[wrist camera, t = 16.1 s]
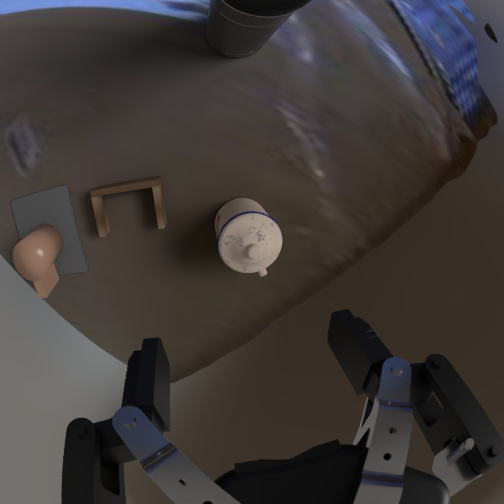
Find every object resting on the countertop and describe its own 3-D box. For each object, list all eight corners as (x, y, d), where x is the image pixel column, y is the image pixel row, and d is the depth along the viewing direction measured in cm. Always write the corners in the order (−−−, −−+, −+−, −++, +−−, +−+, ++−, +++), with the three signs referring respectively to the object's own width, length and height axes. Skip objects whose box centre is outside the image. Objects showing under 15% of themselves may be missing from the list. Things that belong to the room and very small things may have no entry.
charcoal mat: (11, 200, 33) (10, 201, 33) (67, 184, 35) (66, 184, 35) (34, 276, 40) (33, 277, 40) (88, 270, 43) (87, 271, 42)
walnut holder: (96, 187, 37) (90, 191, 34) (160, 176, 39) (158, 179, 36) (105, 230, 40) (99, 237, 38) (166, 221, 42) (164, 228, 39)
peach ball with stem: (29, 226, 36) (7, 244, 29) (57, 220, 37) (37, 239, 30) (45, 276, 41) (28, 300, 33) (72, 274, 42) (57, 298, 35)
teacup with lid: (204, 209, 43) (207, 237, 32) (256, 187, 43) (276, 207, 32) (232, 269, 48) (243, 308, 38) (279, 248, 48) (302, 283, 38)
